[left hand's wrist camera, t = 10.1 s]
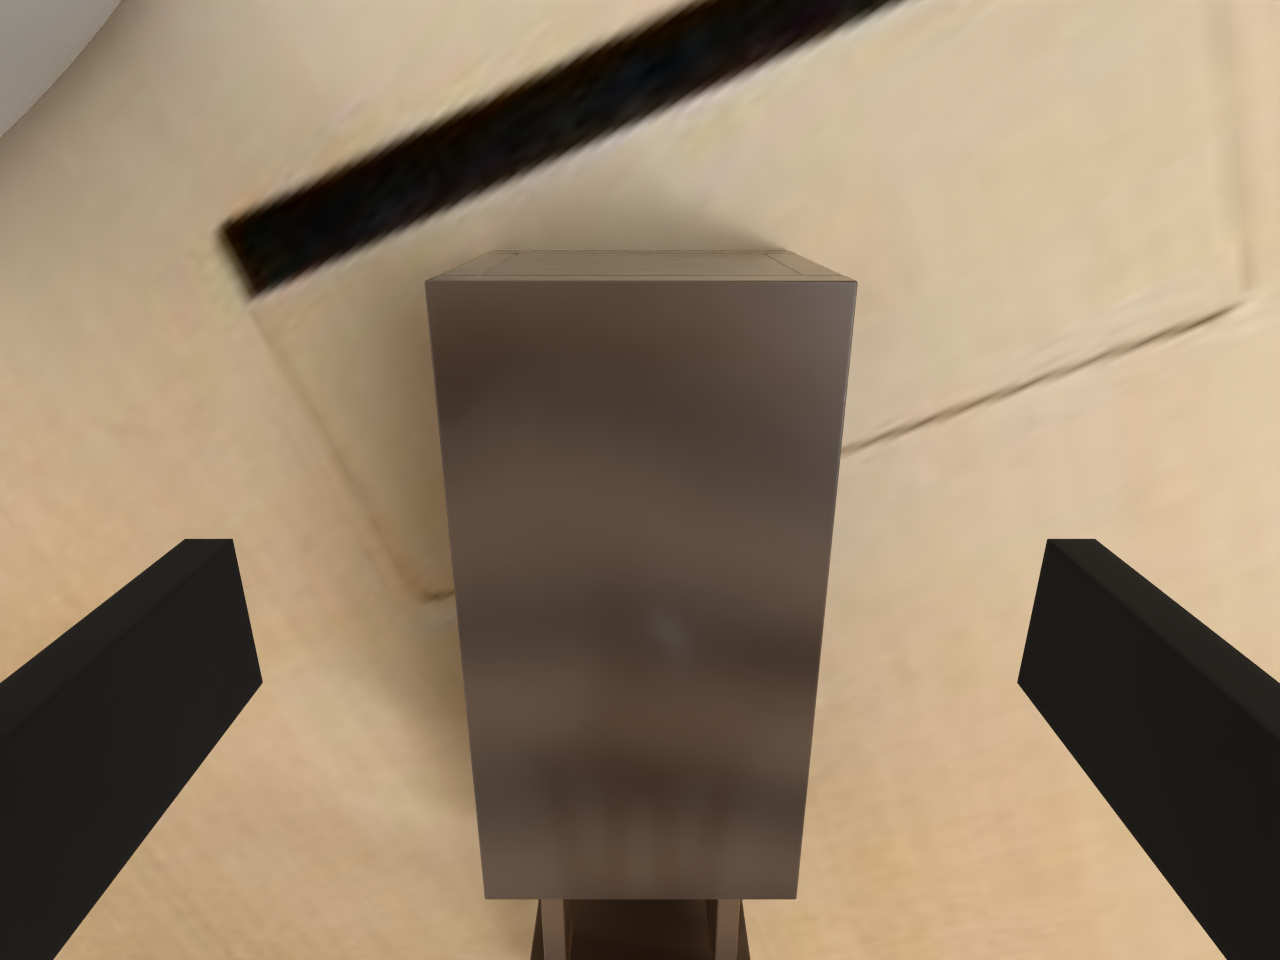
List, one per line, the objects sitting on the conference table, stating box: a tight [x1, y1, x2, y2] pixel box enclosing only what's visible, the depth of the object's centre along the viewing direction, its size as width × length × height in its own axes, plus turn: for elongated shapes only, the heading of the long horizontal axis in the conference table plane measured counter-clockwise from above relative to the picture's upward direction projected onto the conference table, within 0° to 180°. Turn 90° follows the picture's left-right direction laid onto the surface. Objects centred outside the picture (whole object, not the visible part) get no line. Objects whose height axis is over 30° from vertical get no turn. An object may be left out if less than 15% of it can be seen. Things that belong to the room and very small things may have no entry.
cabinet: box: [425, 251, 858, 899], centre depth 26 cm, size 20×10×9 cm, turn 0°
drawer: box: [530, 899, 750, 960], centre depth 30 cm, size 24×9×6 cm, turn 0°
